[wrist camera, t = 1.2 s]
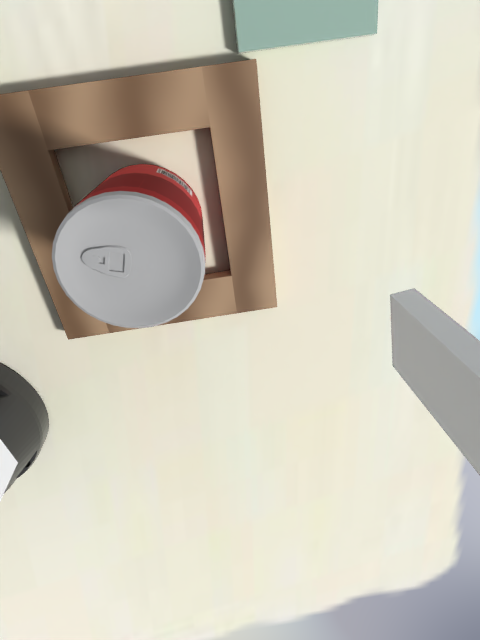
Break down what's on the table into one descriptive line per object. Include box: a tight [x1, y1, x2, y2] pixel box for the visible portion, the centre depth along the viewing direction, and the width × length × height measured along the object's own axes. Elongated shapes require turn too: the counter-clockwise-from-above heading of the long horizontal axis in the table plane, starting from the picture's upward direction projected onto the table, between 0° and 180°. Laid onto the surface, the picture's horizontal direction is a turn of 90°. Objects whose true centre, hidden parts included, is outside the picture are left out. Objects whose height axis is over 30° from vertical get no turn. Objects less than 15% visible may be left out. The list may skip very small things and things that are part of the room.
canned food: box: [52, 164, 205, 328], centre depth 26 cm, size 8×8×11 cm
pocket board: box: [0, 59, 277, 339], centre depth 30 cm, size 18×18×1 cm
